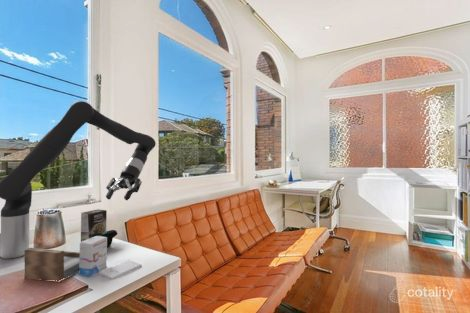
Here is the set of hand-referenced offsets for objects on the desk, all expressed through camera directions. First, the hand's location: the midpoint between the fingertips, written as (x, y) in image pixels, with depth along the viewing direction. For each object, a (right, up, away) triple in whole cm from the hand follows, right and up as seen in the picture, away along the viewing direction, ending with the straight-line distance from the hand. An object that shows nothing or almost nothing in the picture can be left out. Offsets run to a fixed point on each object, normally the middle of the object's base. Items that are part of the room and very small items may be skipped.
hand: (116, 198), depth 108 cm
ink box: (-3, -25, -13) cm, 28 cm away
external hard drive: (+7, -26, -12) cm, 29 cm away
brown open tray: (-15, -25, -13) cm, 32 cm away
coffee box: (-17, -24, +14) cm, 33 cm away
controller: (-9, -25, +7) cm, 27 cm away
